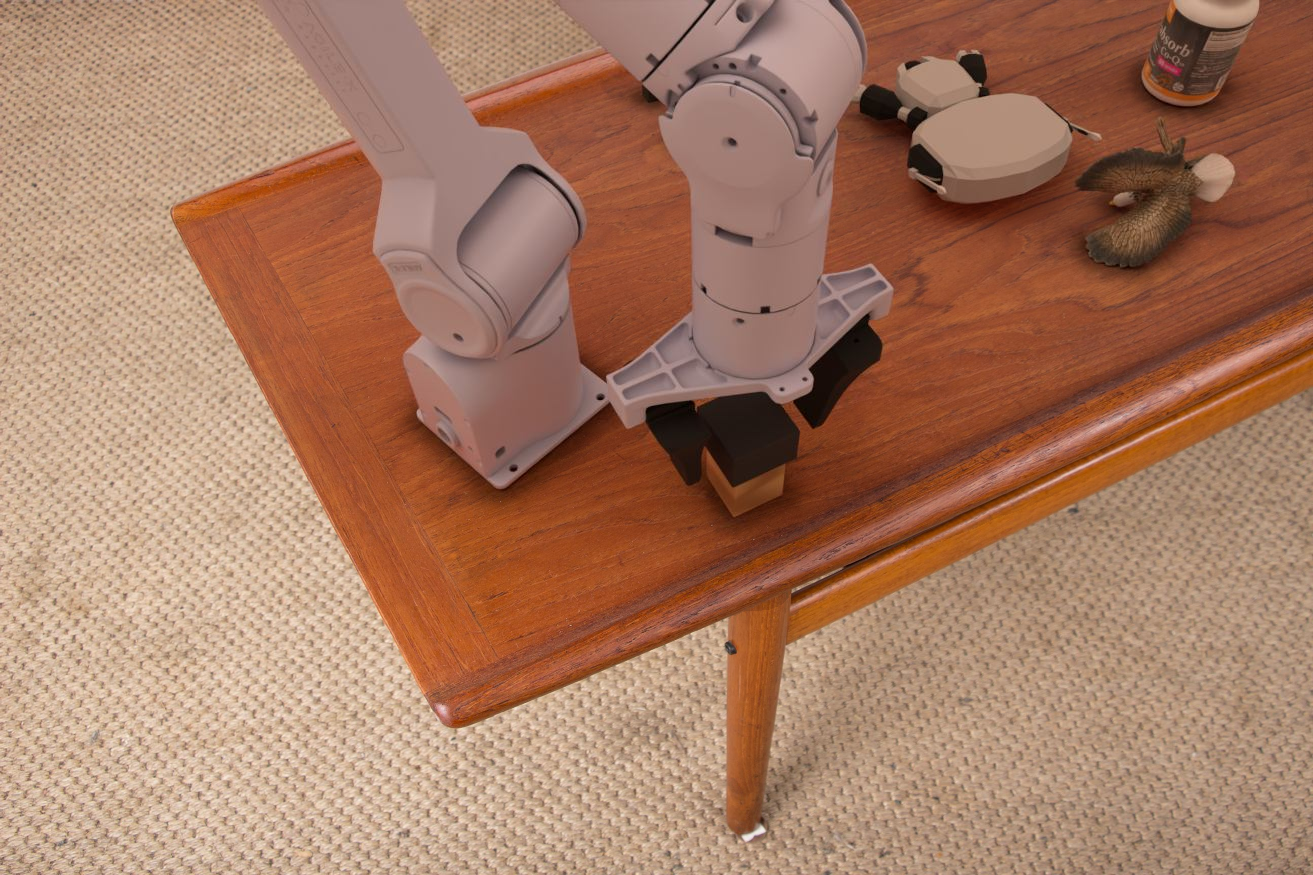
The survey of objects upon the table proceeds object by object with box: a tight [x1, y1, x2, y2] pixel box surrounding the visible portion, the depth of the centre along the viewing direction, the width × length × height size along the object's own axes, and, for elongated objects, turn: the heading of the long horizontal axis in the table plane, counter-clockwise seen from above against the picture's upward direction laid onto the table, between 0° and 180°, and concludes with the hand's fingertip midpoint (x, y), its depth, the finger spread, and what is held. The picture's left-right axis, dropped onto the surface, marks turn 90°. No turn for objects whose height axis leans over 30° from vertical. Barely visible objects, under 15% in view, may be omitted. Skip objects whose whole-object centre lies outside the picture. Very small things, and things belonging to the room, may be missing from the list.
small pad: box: [696, 391, 801, 488], centre depth 57 cm, size 4×4×3 cm
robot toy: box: [850, 49, 1103, 205], centre depth 75 cm, size 12×4×15 cm
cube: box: [706, 449, 787, 518], centre depth 60 cm, size 3×3×4 cm
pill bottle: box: [1141, 0, 1260, 107], centre depth 76 cm, size 6×6×10 cm
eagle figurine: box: [1073, 115, 1236, 268], centre depth 70 cm, size 8×7×9 cm
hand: (747, 441), depth 58 cm, fingers open, 7 cm apart
